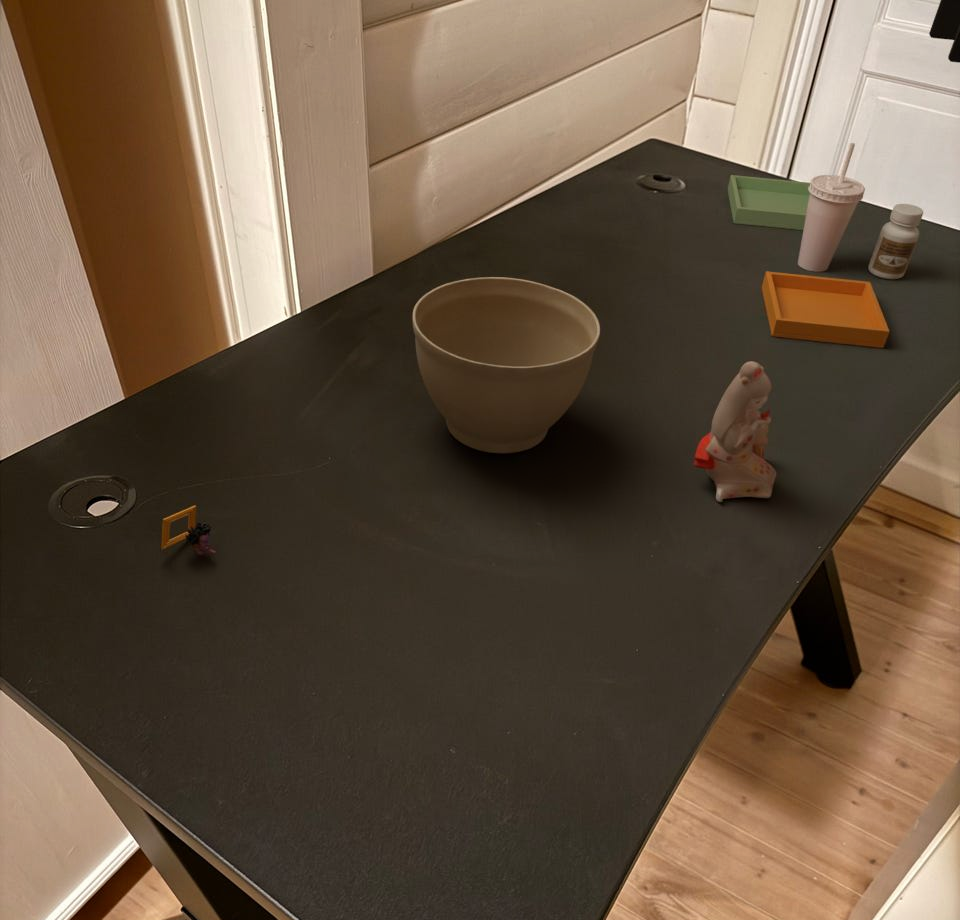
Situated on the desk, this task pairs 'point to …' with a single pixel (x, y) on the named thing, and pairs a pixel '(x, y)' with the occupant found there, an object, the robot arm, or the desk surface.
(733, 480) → the figurine
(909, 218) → the pill bottle
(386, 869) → the desk surface
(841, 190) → the smoothie
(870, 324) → the amber tray
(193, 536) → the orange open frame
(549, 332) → the planter bowl
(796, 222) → the sage tray
